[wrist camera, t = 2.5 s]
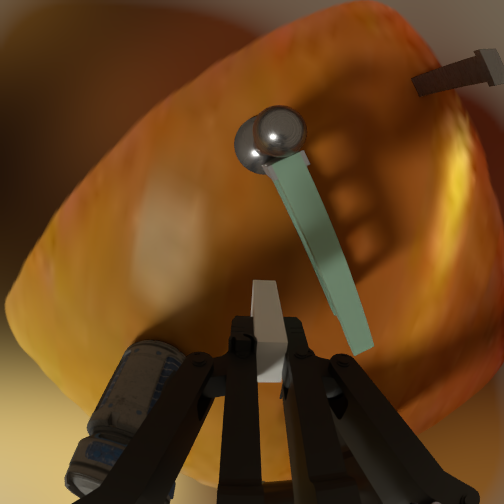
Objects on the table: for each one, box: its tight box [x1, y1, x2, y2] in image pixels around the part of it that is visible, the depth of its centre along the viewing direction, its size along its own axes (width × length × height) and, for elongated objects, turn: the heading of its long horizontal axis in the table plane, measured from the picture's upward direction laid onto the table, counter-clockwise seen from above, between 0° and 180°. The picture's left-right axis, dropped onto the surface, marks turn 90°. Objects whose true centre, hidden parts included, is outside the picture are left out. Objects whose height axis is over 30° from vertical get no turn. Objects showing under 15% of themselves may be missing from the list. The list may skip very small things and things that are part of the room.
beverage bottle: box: [65, 340, 186, 504], centre depth 22 cm, size 10×13×25 cm
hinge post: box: [234, 105, 307, 174], centre depth 19 cm, size 6×6×15 cm
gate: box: [261, 150, 374, 356], centre depth 24 cm, size 17×3×9 cm, turn 27°
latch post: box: [411, 49, 504, 97], centre depth 17 cm, size 3×3×13 cm
